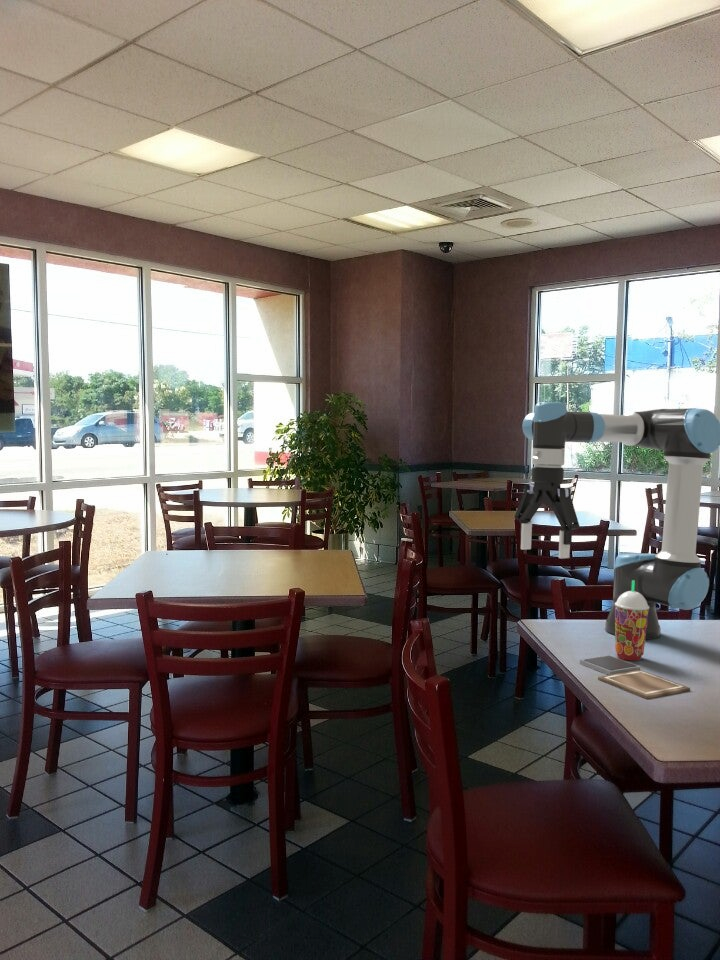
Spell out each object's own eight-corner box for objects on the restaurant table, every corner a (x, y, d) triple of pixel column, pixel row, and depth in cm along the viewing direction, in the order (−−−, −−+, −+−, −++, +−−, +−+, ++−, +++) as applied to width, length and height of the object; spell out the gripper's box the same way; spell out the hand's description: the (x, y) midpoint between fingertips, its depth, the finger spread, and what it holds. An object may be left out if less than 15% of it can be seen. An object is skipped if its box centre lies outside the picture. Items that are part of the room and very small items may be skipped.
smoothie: (604, 654, 200) (609, 578, 198) (630, 651, 203) (634, 576, 202) (627, 663, 192) (632, 584, 191) (653, 660, 195) (658, 583, 194)
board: (640, 672, 185) (640, 669, 185) (690, 690, 173) (690, 687, 173) (598, 679, 179) (598, 676, 179) (646, 698, 166) (646, 695, 166)
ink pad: (609, 659, 196) (609, 654, 195) (640, 670, 187) (640, 665, 187) (579, 663, 191) (580, 659, 191) (610, 675, 182) (610, 670, 182)
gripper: (502, 463, 195) (499, 546, 196) (573, 469, 173) (568, 562, 174) (525, 463, 198) (522, 545, 200) (597, 469, 176) (593, 561, 178)
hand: (544, 553), depth 187 cm, fingers open, 13 cm apart
